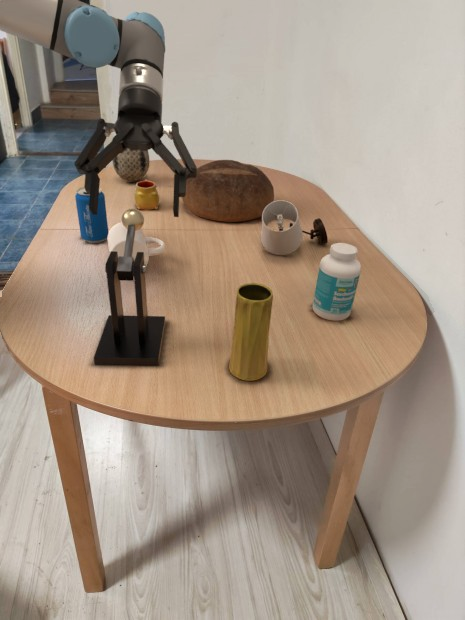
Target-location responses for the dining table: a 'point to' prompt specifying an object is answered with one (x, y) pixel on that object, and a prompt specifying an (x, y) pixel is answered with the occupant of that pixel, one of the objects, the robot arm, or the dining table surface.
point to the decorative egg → (131, 164)
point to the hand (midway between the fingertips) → (134, 212)
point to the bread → (228, 191)
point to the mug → (119, 239)
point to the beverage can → (91, 217)
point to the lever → (129, 243)
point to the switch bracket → (129, 322)
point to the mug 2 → (146, 195)
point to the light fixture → (289, 238)
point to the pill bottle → (337, 282)
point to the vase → (251, 331)
